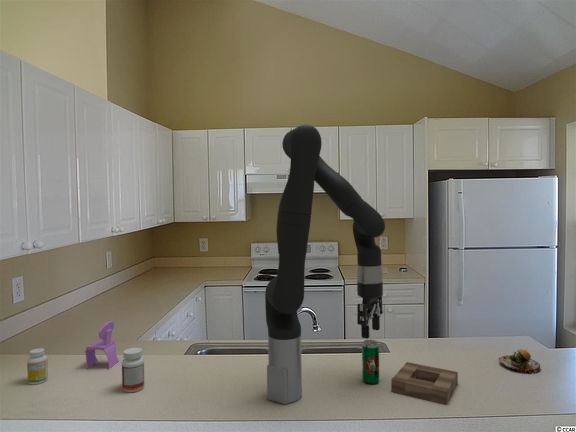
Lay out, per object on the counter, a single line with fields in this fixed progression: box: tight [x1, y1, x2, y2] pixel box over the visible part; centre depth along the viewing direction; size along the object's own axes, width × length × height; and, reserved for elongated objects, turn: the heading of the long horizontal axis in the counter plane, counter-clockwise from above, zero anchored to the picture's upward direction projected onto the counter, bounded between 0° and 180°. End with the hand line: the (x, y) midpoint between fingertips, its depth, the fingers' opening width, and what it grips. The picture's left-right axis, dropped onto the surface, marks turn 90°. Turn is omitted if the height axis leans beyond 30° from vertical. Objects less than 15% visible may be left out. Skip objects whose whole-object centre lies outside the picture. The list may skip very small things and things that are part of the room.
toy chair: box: [84, 320, 120, 370], centre depth 140 cm, size 8×9×15 cm
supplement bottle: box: [26, 347, 49, 385], centre depth 128 cm, size 5×5×10 cm
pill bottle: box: [121, 347, 145, 393], centre depth 122 cm, size 6×6×11 cm
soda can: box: [361, 339, 380, 385], centre depth 124 cm, size 5×5×12 cm
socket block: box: [390, 361, 459, 406], centre depth 120 cm, size 15×15×4 cm
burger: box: [498, 348, 541, 375], centre depth 134 cm, size 12×12×8 cm
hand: (370, 333), depth 124 cm, fingers open, 8 cm apart
